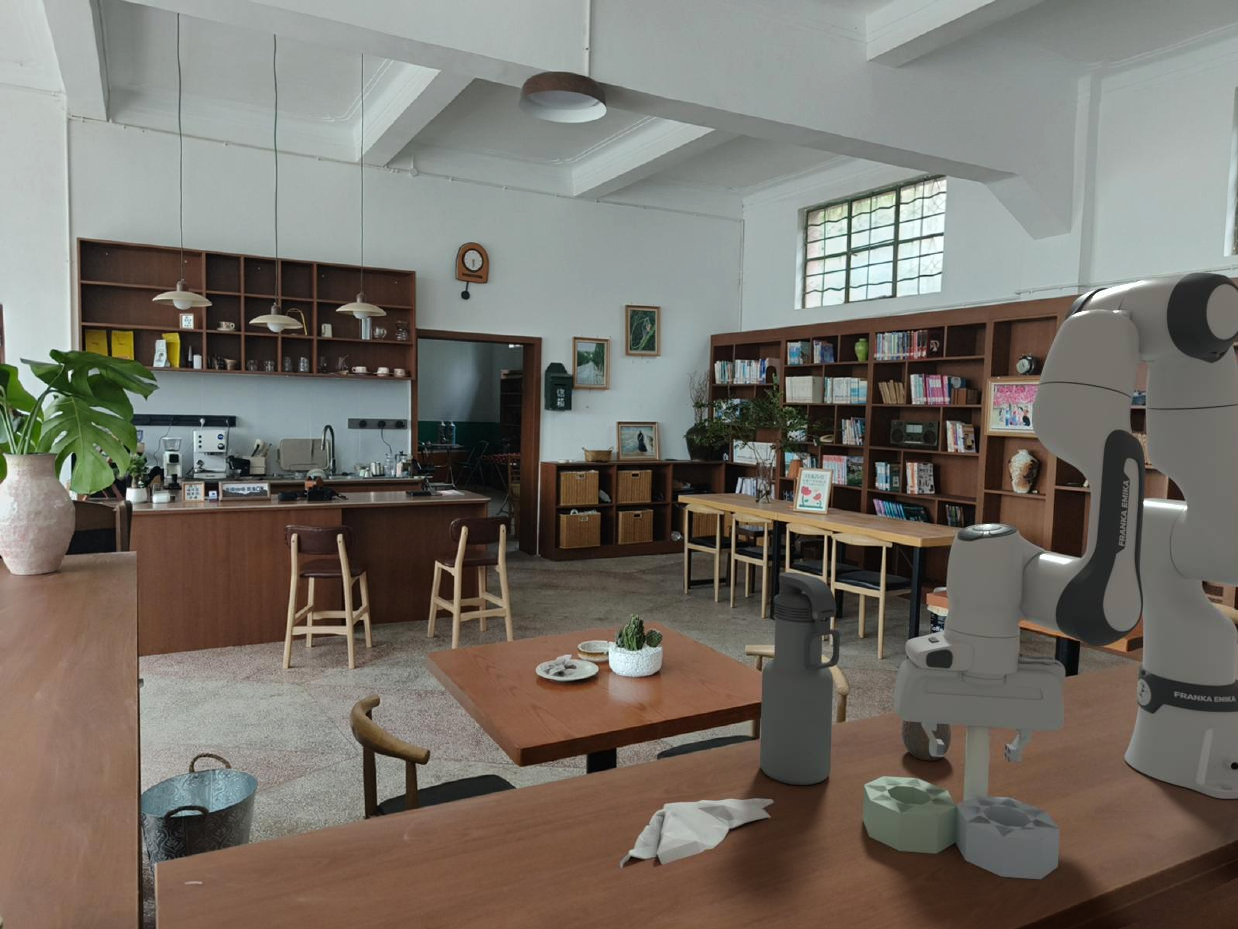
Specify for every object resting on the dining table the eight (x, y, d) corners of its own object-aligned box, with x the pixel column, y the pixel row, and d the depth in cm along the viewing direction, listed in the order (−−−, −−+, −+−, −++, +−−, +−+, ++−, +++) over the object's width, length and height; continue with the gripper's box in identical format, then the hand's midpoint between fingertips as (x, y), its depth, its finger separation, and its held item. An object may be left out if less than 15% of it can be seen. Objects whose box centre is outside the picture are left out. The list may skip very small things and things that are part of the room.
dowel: (982, 805, 108) (986, 715, 107) (989, 815, 105) (993, 723, 104) (960, 803, 108) (964, 714, 108) (967, 814, 105) (970, 722, 105)
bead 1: (939, 814, 105) (940, 779, 105) (962, 855, 95) (964, 817, 95) (858, 808, 106) (859, 774, 106) (873, 849, 96) (874, 811, 96)
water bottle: (847, 778, 115) (853, 580, 114) (795, 794, 110) (801, 587, 109) (795, 753, 124) (800, 568, 122) (745, 766, 119) (750, 573, 117)
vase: (954, 767, 120) (956, 707, 119) (904, 762, 121) (906, 703, 121) (945, 748, 126) (947, 692, 126) (898, 744, 128) (900, 688, 127)
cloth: (750, 788, 113) (751, 772, 113) (818, 834, 101) (818, 816, 101) (577, 830, 101) (578, 812, 101) (630, 887, 89) (630, 867, 89)
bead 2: (1033, 835, 100) (1035, 799, 100) (1069, 881, 90) (1071, 841, 90) (947, 829, 101) (949, 794, 101) (973, 874, 91) (975, 835, 91)
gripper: (1055, 650, 107) (1049, 754, 108) (893, 640, 110) (888, 742, 110) (1077, 663, 101) (1070, 774, 102) (904, 653, 103) (899, 761, 104)
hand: (974, 758), depth 106 cm, fingers open, 8 cm apart
